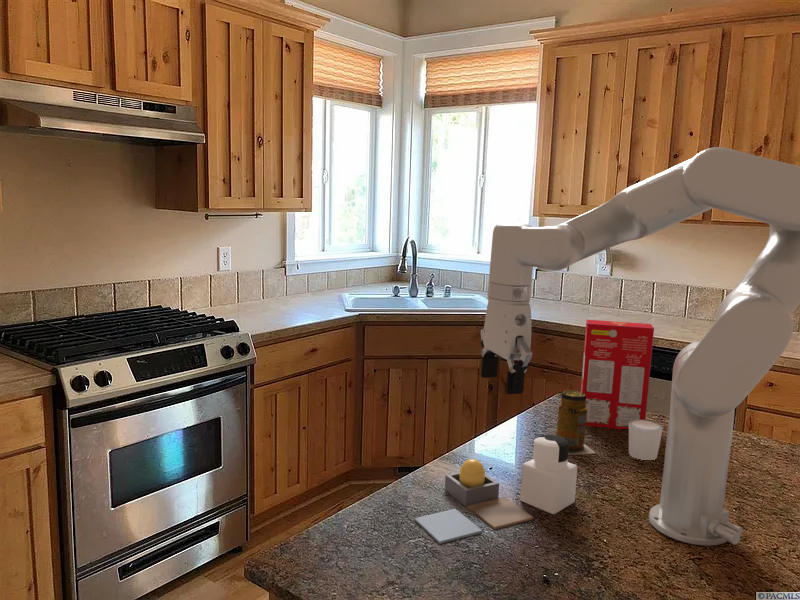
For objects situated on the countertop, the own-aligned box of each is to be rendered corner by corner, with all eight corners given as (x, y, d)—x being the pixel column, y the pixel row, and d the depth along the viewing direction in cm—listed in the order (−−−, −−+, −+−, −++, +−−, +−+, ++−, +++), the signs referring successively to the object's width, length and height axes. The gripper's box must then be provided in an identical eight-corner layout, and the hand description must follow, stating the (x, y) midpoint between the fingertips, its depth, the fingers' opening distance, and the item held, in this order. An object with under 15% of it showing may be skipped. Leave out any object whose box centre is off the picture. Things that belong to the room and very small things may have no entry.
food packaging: (641, 424, 157) (650, 323, 153) (644, 431, 152) (654, 328, 148) (578, 417, 160) (586, 319, 156) (579, 425, 155) (587, 323, 151)
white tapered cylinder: (632, 446, 142) (635, 416, 141) (664, 455, 138) (667, 424, 137) (621, 456, 137) (623, 424, 136) (653, 465, 133) (656, 432, 132)
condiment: (576, 439, 146) (580, 388, 144) (595, 453, 138) (600, 400, 136) (547, 441, 144) (550, 389, 142) (564, 456, 136) (568, 401, 134)
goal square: (481, 532, 104) (481, 530, 104) (439, 543, 100) (439, 541, 100) (455, 510, 111) (455, 508, 111) (414, 520, 107) (414, 518, 107)
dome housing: (498, 498, 116) (499, 483, 115) (465, 506, 112) (466, 490, 112) (476, 483, 122) (477, 468, 121) (444, 490, 119) (445, 474, 118)
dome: (489, 489, 116) (490, 462, 115) (468, 493, 114) (469, 466, 113) (475, 478, 120) (476, 453, 119) (454, 483, 118) (455, 457, 117)
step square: (533, 519, 109) (533, 517, 109) (494, 529, 105) (494, 527, 105) (504, 499, 116) (504, 497, 116) (467, 507, 112) (467, 505, 112)
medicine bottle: (541, 489, 120) (545, 428, 118) (575, 502, 115) (580, 439, 113) (519, 500, 115) (523, 437, 113) (553, 515, 110) (558, 449, 108)
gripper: (553, 301, 108) (544, 399, 111) (504, 285, 124) (497, 370, 127) (514, 302, 105) (505, 401, 108) (469, 285, 121) (462, 372, 124)
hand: (500, 385), depth 118 cm, fingers open, 9 cm apart
